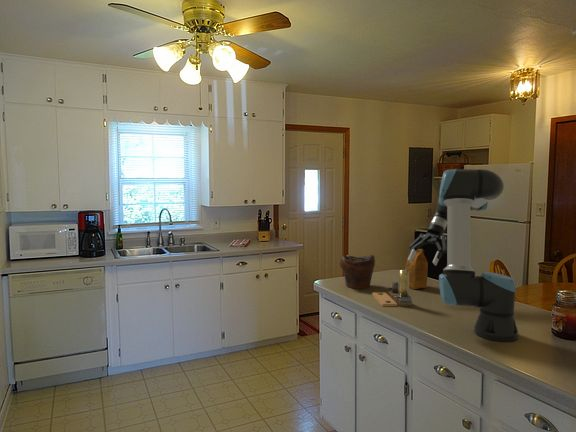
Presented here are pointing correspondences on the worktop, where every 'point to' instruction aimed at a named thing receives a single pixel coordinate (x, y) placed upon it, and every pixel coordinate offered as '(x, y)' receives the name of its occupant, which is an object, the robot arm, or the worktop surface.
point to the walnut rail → (394, 294)
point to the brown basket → (358, 270)
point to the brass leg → (404, 286)
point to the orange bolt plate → (384, 299)
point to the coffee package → (417, 270)
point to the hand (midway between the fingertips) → (421, 262)
